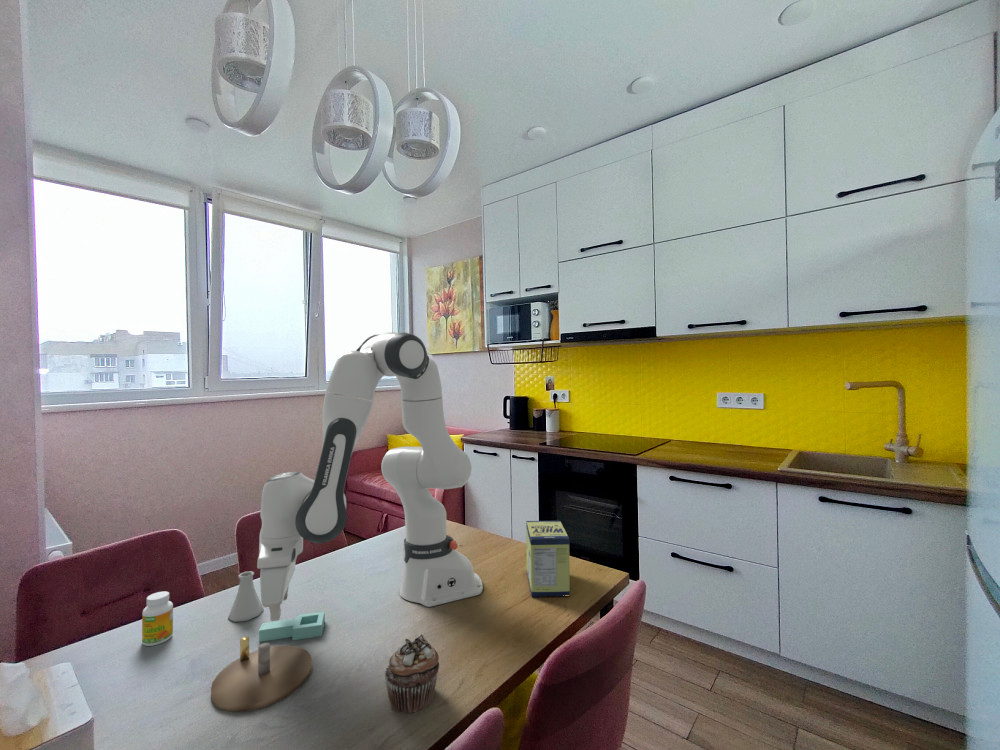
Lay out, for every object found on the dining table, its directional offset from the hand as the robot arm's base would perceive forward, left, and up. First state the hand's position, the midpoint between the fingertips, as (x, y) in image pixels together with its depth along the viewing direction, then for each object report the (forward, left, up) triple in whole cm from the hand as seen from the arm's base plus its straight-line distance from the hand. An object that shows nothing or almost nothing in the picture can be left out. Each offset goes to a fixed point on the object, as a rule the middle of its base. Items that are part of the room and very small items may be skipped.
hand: (279, 608), depth 97 cm
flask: (+10, -13, -7) cm, 18 cm away
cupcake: (-27, +27, -7) cm, 39 cm away
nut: (-3, -1, -6) cm, 7 cm away
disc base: (0, +14, -6) cm, 15 cm away
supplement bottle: (+26, -7, -7) cm, 28 cm away
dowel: (+5, +8, -5) cm, 11 cm away
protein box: (-67, -7, -7) cm, 68 cm away
